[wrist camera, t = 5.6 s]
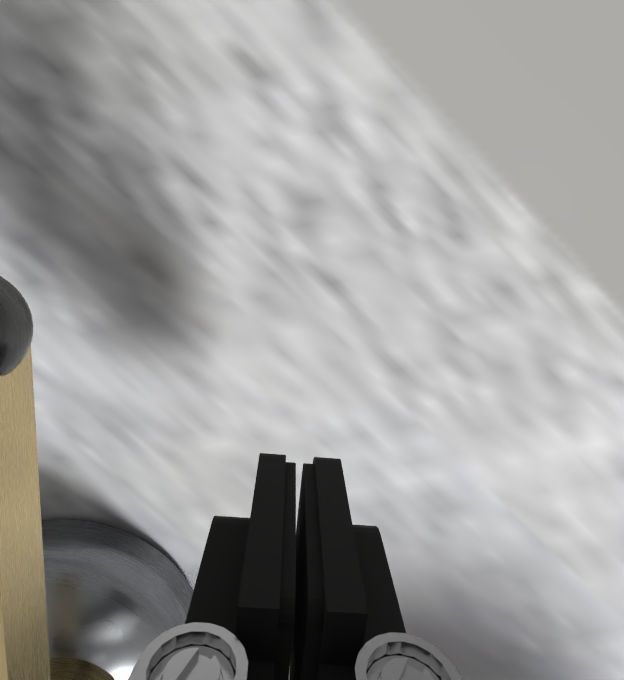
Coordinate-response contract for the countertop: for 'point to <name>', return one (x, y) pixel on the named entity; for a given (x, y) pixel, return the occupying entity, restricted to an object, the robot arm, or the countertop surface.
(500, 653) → the countertop surface
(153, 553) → the tan branched rod piece
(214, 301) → the countertop surface
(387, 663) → the robot arm
